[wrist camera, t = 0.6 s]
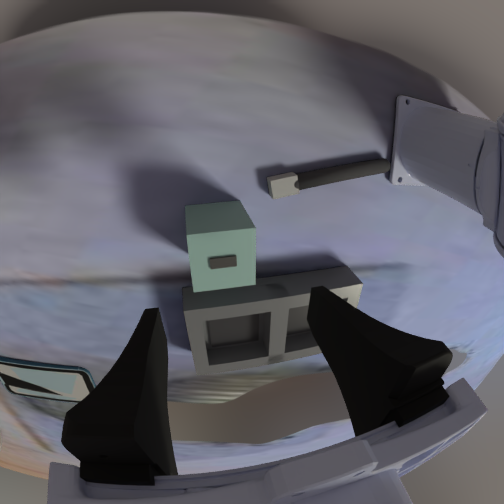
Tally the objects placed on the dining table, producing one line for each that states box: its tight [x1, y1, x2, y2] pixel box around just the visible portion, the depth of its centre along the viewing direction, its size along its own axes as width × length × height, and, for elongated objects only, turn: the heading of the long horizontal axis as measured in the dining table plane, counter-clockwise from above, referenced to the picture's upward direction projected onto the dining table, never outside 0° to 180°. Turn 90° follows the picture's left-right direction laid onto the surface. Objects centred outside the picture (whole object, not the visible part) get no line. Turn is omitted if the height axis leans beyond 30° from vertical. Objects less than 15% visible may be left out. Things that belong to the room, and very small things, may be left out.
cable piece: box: [267, 158, 390, 199], centre depth 21 cm, size 11×1×1 cm, turn 99°
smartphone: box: [0, 357, 96, 403], centre depth 26 cm, size 7×1×15 cm
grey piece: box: [182, 266, 363, 375], centre depth 26 cm, size 15×8×3 cm, turn 90°
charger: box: [185, 201, 256, 292], centre depth 20 cm, size 4×4×5 cm
